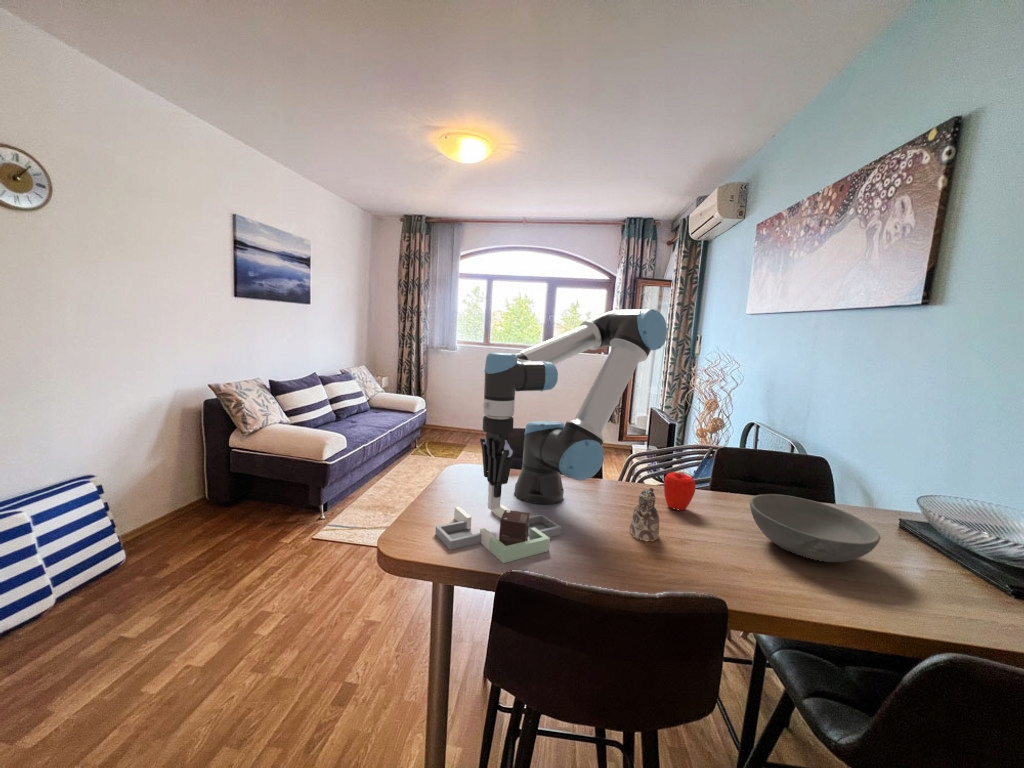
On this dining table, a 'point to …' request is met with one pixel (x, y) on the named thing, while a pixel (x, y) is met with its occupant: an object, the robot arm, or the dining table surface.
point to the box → (513, 527)
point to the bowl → (812, 528)
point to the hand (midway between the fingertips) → (494, 507)
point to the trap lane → (461, 537)
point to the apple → (678, 490)
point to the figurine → (645, 517)
